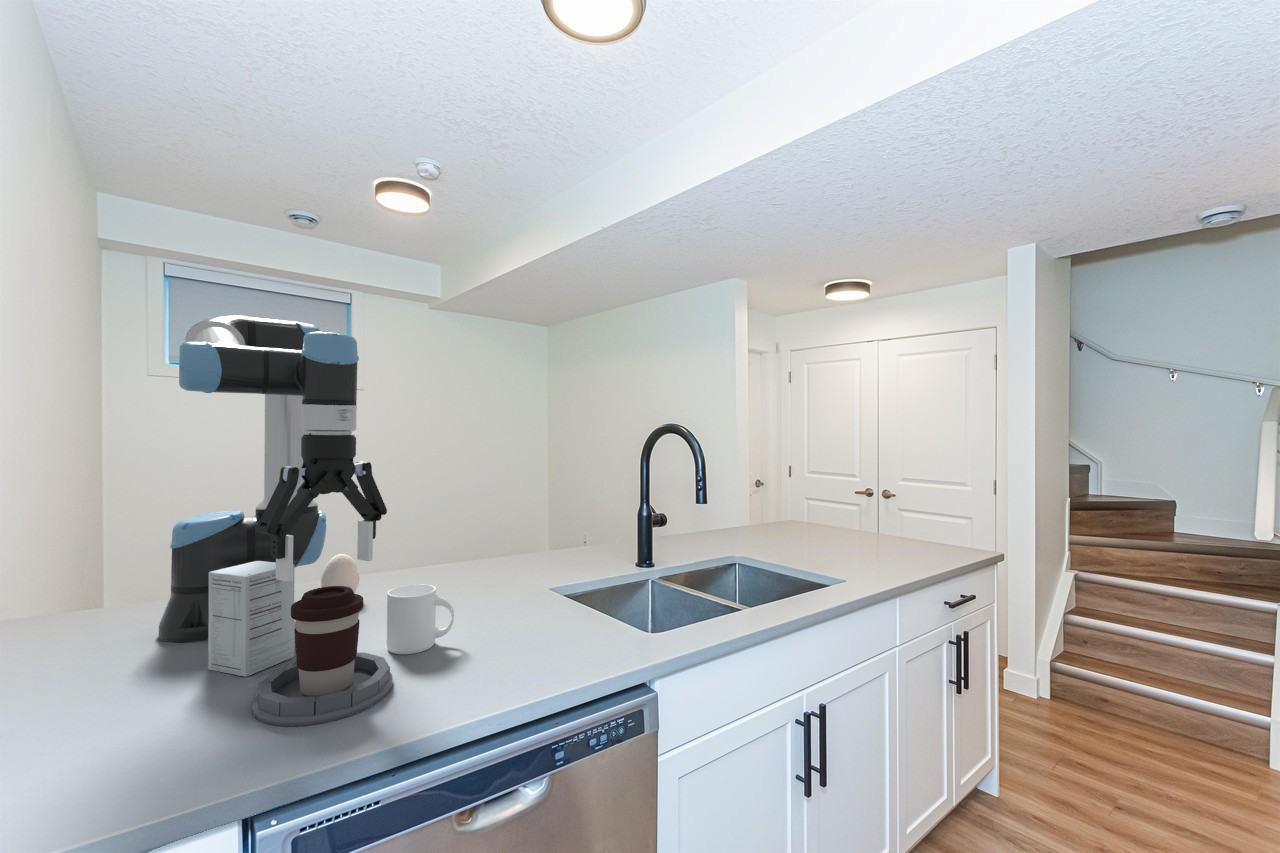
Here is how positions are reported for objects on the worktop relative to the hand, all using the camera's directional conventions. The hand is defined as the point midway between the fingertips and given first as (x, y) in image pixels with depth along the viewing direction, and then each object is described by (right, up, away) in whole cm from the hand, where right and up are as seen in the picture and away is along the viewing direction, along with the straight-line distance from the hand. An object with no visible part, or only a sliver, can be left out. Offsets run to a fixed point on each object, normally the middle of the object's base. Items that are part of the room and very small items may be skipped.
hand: (327, 569), depth 89 cm
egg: (-22, -19, +45) cm, 54 cm away
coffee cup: (0, -19, 0) cm, 19 cm away
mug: (+7, -20, +20) cm, 29 cm away
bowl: (0, -19, 0) cm, 19 cm away
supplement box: (-19, -19, +11) cm, 29 cm away
